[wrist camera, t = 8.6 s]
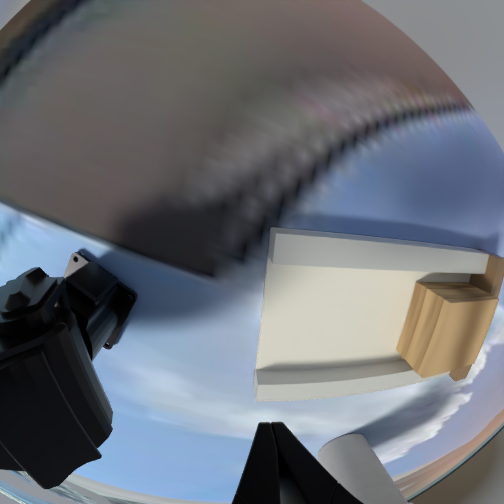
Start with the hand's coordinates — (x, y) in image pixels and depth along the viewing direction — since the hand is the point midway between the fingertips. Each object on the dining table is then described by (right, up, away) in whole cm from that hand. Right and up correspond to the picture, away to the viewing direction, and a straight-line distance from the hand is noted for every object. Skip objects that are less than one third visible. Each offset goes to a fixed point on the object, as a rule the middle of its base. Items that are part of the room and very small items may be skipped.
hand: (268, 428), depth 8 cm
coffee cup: (+11, -19, +19) cm, 29 cm away
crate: (+18, 0, +14) cm, 23 cm away
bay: (+12, 0, +14) cm, 19 cm away
